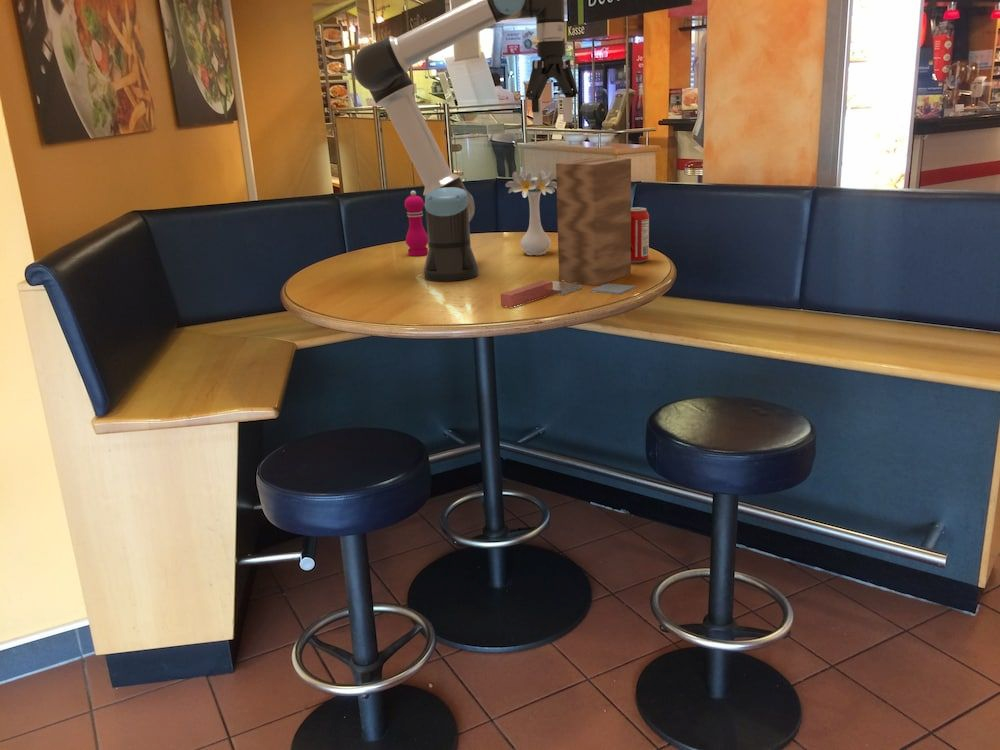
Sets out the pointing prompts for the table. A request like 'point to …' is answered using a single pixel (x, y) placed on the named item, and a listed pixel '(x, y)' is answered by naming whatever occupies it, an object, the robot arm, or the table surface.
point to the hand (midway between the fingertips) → (553, 123)
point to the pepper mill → (416, 226)
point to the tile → (613, 288)
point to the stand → (594, 219)
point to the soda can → (639, 235)
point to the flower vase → (533, 208)
